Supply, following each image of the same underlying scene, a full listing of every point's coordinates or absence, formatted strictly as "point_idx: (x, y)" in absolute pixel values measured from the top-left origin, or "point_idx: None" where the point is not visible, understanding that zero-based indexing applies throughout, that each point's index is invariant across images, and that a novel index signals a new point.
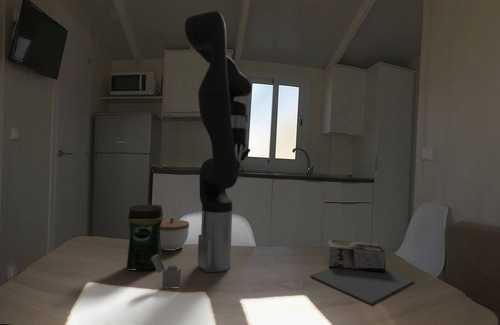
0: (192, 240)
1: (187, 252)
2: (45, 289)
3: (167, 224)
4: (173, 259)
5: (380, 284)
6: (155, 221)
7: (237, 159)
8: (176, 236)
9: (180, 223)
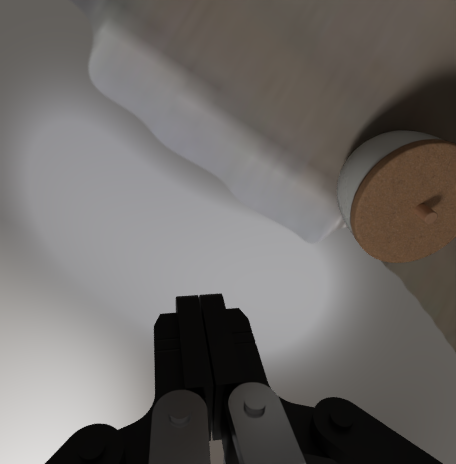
0: (277, 212)
1: (364, 96)
2: None
3: (452, 185)
4: (435, 53)
5: None
6: None
7: (206, 434)
8: (420, 133)
9: (408, 180)
